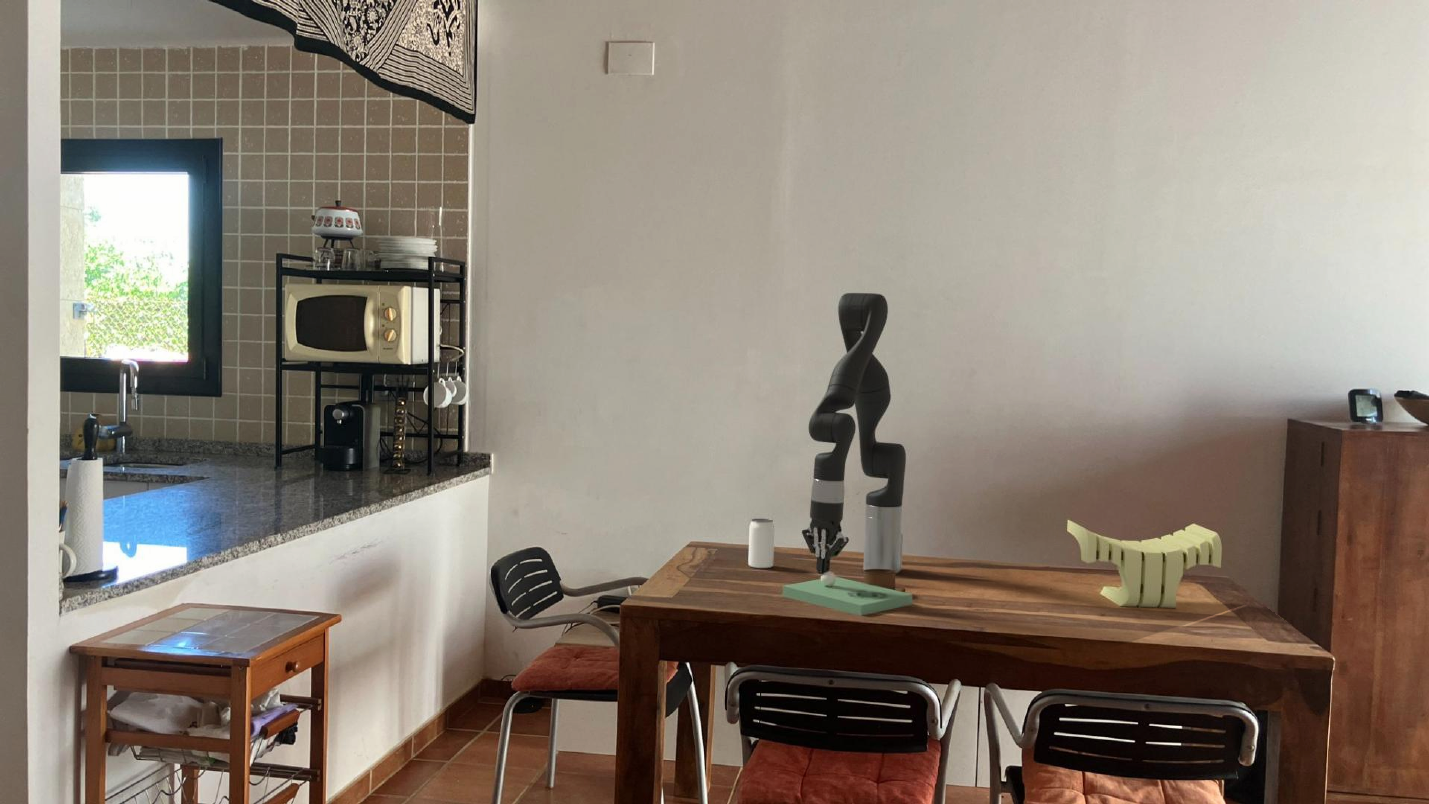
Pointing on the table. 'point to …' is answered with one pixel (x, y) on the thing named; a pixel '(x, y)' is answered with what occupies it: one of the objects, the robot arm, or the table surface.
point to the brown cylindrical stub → (881, 578)
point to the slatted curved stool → (1150, 562)
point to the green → (848, 596)
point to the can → (761, 543)
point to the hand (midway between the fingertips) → (822, 573)
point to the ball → (828, 578)
